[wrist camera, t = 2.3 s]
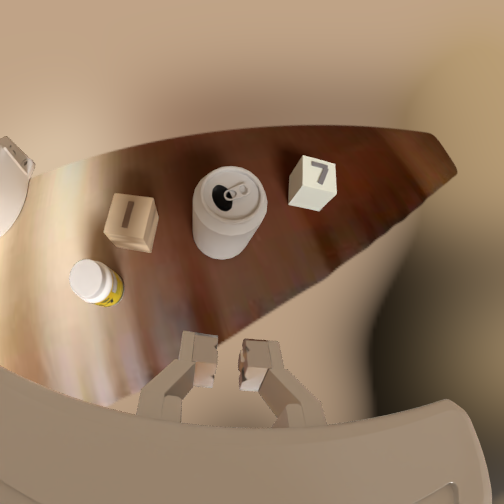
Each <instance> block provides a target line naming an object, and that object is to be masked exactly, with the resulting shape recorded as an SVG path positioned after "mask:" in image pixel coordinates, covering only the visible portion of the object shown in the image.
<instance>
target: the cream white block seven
mask: <svg viewBox="0 0 504 504" xmlns="http://www.w3.org/2000/svg"><path fill="white" fill-rule="evenodd" d="M336 194H337V190H336V173H335V164H333V163H329V162H326V161H322V160H319V159H315V158H311V157H308V156H304V155H303V156H302V157H301V159H300V160H299V162H298V164H297V165H296V167H295V168H294V170H293V171H292V173H291V175H290V176H289V195H288V205H293V206H297V207H302V208H307V209H311V210H316V211H319V210H320V209H321V208H323V207H324V206H325V205H326V204H327V203H328V202H329V201H330V200H331V199H332V198H333V197H334V196H335V195H336Z"/></svg>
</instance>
